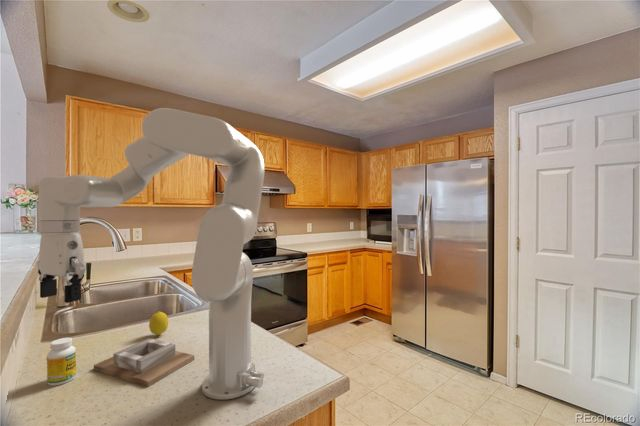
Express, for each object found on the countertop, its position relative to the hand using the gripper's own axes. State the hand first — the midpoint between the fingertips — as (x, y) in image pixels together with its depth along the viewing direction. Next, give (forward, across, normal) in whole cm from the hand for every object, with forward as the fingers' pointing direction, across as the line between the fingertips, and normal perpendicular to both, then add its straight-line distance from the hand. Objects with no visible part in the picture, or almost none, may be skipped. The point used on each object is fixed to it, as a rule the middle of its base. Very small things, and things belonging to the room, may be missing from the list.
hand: (60, 298), depth 74 cm
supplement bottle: (+20, 0, 0) cm, 20 cm away
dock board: (+20, -12, -13) cm, 27 cm away
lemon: (+20, +1, -28) cm, 34 cm away
